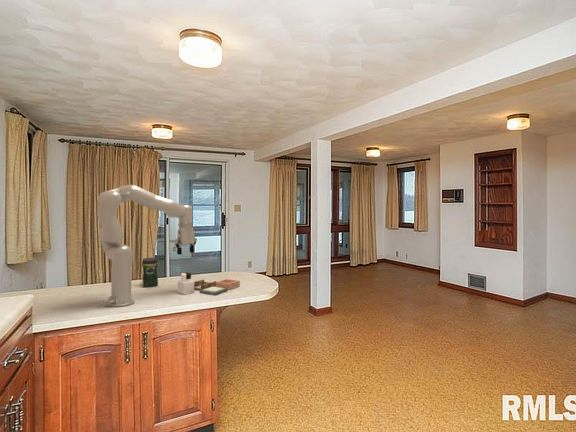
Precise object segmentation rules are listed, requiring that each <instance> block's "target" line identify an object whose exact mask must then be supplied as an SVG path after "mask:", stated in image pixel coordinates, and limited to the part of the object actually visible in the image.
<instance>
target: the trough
mask: <svg viewBox="0 0 576 432" xmlns="http://www.w3.org/2000/svg"><path fill="white" fill-rule="evenodd" d="M216 282H217V280H215V281H211V282H210V281H209V282H208V281H205V279H200V280H196V281H194V291H199V292H200V290H203V289H206V288H210V287H216Z"/></svg>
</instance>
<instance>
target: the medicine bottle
mask: <svg viewBox="0 0 576 432" xmlns="http://www.w3.org/2000/svg"><path fill="white" fill-rule="evenodd" d="M194 282H195V281H194V280H193V279H192V273H191V272H182V273H181V274H180V280H178V281H177V293H178V294H181V295H189V294H195V290H194Z"/></svg>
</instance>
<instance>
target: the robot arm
mask: <svg viewBox="0 0 576 432" xmlns="http://www.w3.org/2000/svg"><path fill="white" fill-rule="evenodd" d="M128 201H131V202H133V203H136V204H139V205H141V206H142V207H145V208H148V209H151V210H154V211H155V210H156V211H161V212H164V213H165V216H167V217H169V218H173V219H174V218H177V219H178V218H179V219H178V220H179V221H178V222H179V223H178V225H177V226H178V229H177V238H176V239H174V240H173V244H174V246H175V247H176V254H177V255H182V246H183V245H189V253H191V254H192V253H195V245H196V244H197V241H198V238H196V237H195V231H194V230H195V229H194V227H193V207H192V206H191V205H183V204H180V203H178V202H176V201H174V200H171V199H168V198H167V197H163V196H160V195H157V194H155V193H153V192H151V191H149V190H146V189H144V188H142V187H140V186H138V185H135V184H129V185H128V184H127V185H123V186H120V187H117V188H112V189H109V190H106V191H105V190H104V191H103V192H100V194H99V195H98V197H97V202H98V204H99V205H98V207H97V213H96V215H97V219H98V221H99V224H100V228H99V231H98V233H97V234H98V235H97V236H98V239H99V242H100V244H101V248H102V249H103V253H104V254H105V256H106V257H107V258H108V259H109V260H110V261H112V264H111V270H110V273H111V276H110V277H111V280H110V281H111V283H110V284H111V285H110V286H111V294H110V295H111V296H109V297H108V298H107V299H103V300H102V304H103V305H105V304H107V305H108V307H114V308H117V307H127V306H131V305H133V304H134V303H135V299H133V298H132V263H133V255H134V254H133V250H132V248H131V247H130V246H128V245H127V244H123V243H122V240H123V239H124V232H123V229H122V227H121V224H120V222H119V219H118V216H117V210H118V208H119V206H120V204H122V203H125V202H128Z"/></svg>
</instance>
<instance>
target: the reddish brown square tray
mask: <svg viewBox="0 0 576 432" xmlns="http://www.w3.org/2000/svg"><path fill="white" fill-rule="evenodd" d="M216 281H217V280H216ZM240 282H241V281H240V280H239V279H238V280H237V279H231V278H230V279H229V278H225V279H222V280H218V281H217V282H216V286H215V287H219V288H226V289H228V291H232V290H234V289H237V288H239V287H240V285H241V283H240Z"/></svg>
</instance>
